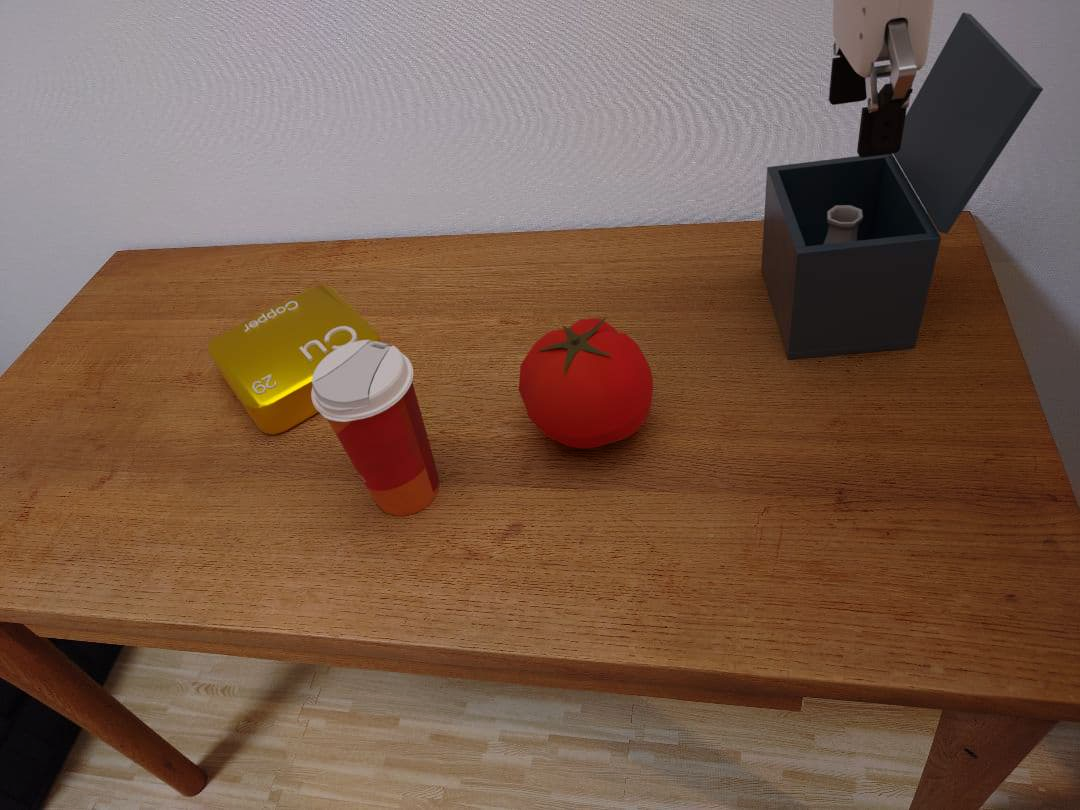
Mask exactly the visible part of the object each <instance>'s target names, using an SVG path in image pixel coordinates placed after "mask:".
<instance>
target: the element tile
mask: <svg viewBox="0 0 1080 810" xmlns="http://www.w3.org/2000/svg"><path fill="white" fill-rule="evenodd" d="M362 340H371V342H375V341H377V342H382V340H381V337H380V335H379V332H378V331H377V330H376V329H375V328H374V327H373V326H372V325H371V324H370V323H369V322H368V321H367V320H366V319H365V318H364V317H363V316H362V315H361V314H359V312H358V311H357V310H355V309H354V308H353V307H352V305H350V304H349V302H347V301H346V300H345V299H344V298H343V297H342V296H341V294H339V293H338V292H337V291H336V289H334V288H333V287H332V286H329V285H326V284H318V285H314V286H312V287H309V288H307V289H305V290H303V291H301V292H299V293H297V294H295V295H293V296H292V297H289V298H288V299H286V300H284V301H281V302H280V303H278V304H276V305H274V306H272V307H270V308H268V309H266V310H264V311H261V312H260V313H258V314H255V316H252V317H250V318H248V319H246V320H244V321H243V322H240V323H238V324H237V325H234V326H233V327H230V328H229V329H227V330H225V331H223V332H221V333H219V334H218V335H216V336H215V337H213V338H212V339H211V340H210V342H209V344H208V346H207V351H208V354H209V356H210V357H211V359H212V361H213V362H214V364H215V366H216V367H217V369H218V371H219V373H220V375H221V376H222V378H223V379H224V381H225V382H226V383H227V385H228V386H229V388H230V389H231V390H232V392H233V394H234V395H235V397H236V398H237V399H238V401H239V402H240V404H241V406H242V407H243V409H244V410H245V411H246V413H247V414H248V415H249V417H250V418H251V420H252V421H253V422H254V424H255V425H256V427H257V429H258V430H259V431H260V432H262V433H264V434H266V435H272V436H273V435H274V436H275V435H278V434H282V433H284V432H286V431H288V430H290V429H292V428H294V427H295V426H297V425H299V424H301V423H303V422H304V421H306V420H308V419H310V418H311V417H313V416H315V415H316V414H318V413H320V412H319V411H318V410H317V409H316V408H315V406H314V405H313V402H312V397H311V392H312V378H313V374H314V371H315V369H316V368H317V366H318V365H319V363H320V362H321V361H322V360H323V359H324V358H325V357H326V356H327V355H329V354H330V353H331V352H333V351H334V350H336V349H338V348H340V347H342V346H344V345H347V344H349V343H353V342H356V341H362Z"/></svg>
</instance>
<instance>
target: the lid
mask: <svg viewBox="0 0 1080 810" xmlns="http://www.w3.org/2000/svg"><path fill="white" fill-rule="evenodd" d="M1043 90H1044V88H1043V87H1042V85H1040V84H1039V82H1037V81H1036V80H1035V79H1034V77H1032V75H1030V74H1029V72H1028V71H1027V70H1026V69H1025V68H1024V67H1023V66H1022V65H1021V64H1020V63H1019V62H1018V61H1017V60H1016V59H1015V58H1014V57H1013V56H1012V55H1011V54H1010V53H1009V51H1007V50H1006V49H1005V48H1004V46H1002V45H1001V44H1000V43H999V42H998V40H997V39H995V37H994V36H992V35H991V33H990V32H989V31H988V30H987V29H986V28H985V27H984V26H983V25H982V23H980V22H979V21H978V20H977V19H976V18H975V17H974V16H973V15H972V14H971V13H969V12H961V14H960V17H959V18H958V20H957V22H956V23H955V26H954V27H953V29H952V31H951V33H950V34H949V37H948V38H947V40H946V42H945V44H944V46H943V47H942V49H941V51H940V53H939V54H938V56H937V58H936V60H935V62H934V64H933V66H932V67H931V69H930V71H929V73H928V75H927V76H926V78H925V80H924V82H923V83H922V85H921V87H920V89H919V91H918V92H917V94H916V96H915V98H914V100H913V102H912V103H911V105H910V107H909V109H908V110H907V111H906V117H905V123H904V129H903V135H902V141H901V148H900V150H899V151H898V152H897V153H894V154H893V156H894V158H895V159H896V161H897V163H898V164H899V166H900V168H901V170H902V171H903V173H904V175H905V176H906V178H907V180H908V182H909V183H910V185H911V187H912V188H913V190H914V192H915V193H916V195H917V197H918V199H919V200H920V202H921V204H922V205H923V207H924V209H925V211H926V212H927V214H928V216H929V217H930V219H931V221H932V223H933V224H934V226H935V228H936V229H937V231H938V233H941V234H948V233H949V232H950V230H951V229H952V227H953V226H954V224H955V223H956V221H958V218H959V217H960V216H961V214H962V212H964V209H965V208H966V206H967V205H968V204H969V202H970V200H971V199H972V197H973V196H974V194H975V193H976V191H977V190H978V188H979V187H980V185H981V184H982V183H983V181H984V180H985V178H986V176H987V174H988V173H989V172H990V170H991V169H992V167H993V166H994V164H995V163H996V161H997V160H998V158H999V157H1000V155H1001V154H1002V152H1003V151H1004V149H1005V147H1006V146H1007V144H1008V143H1009V141H1010V140H1011V139H1012V137H1013V136H1014V134H1015V132H1016V131H1017V129H1018V128H1019V126H1020V125H1021V123H1022V122H1023V121H1024V119H1025V118H1026V117H1027V115H1028V113H1029V112H1030V110H1031V109H1032V107H1033V105H1034V104H1035V102H1036V101H1037V100H1038V98H1039V96H1040V95H1041V93H1042V92H1043Z"/></svg>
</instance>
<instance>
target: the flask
mask: <svg viewBox="0 0 1080 810" xmlns="http://www.w3.org/2000/svg"><path fill="white" fill-rule="evenodd" d="M862 219H863V215H862V209H859V208H856V207H853V206H851V205H836V206H834V207H833V208H832V209H830V210H829V211H828V212H827V221H828V224H829V228H828V233H827V236H826V239H825V242H824V244H833V243H843V242H852V241H857V230H858V225H859V223H860V222H862ZM824 244H823V245H824Z"/></svg>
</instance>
